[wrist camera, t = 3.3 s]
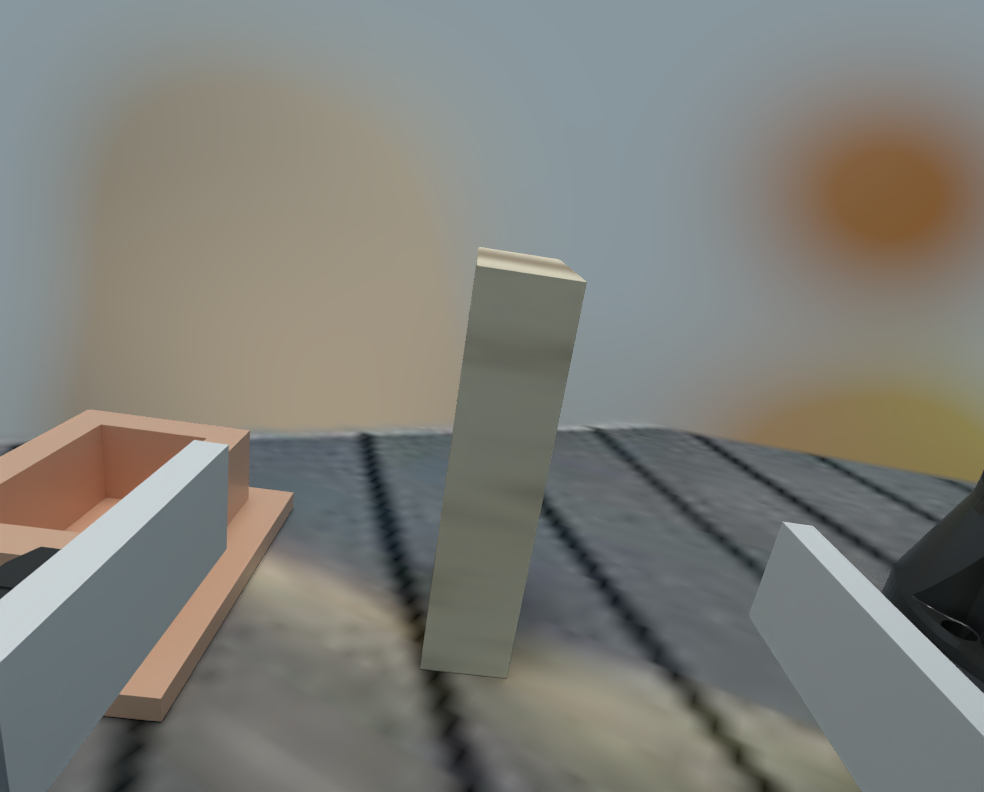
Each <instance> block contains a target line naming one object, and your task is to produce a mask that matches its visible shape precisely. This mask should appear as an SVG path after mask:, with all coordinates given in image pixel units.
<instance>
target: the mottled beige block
mask: <svg viewBox="0 0 984 792" xmlns="http://www.w3.org/2000/svg"><path fill="white" fill-rule="evenodd" d="M586 284H587V282H586V281H585V280H583V279H582V278H581V277H580V276H579V275H577V274H576V273H575V272H574V271H573V270H571V269H570V268H569V267H568V266H567V265H565V264H564V263H563V262H562V261H560V260H559V259H552V258H546V257H540V256H533V255H527V254H520V253H514V252H507V251H501V250H494V249H488V248H482V247H479V248H478V256H477V262H476V270H475V277H474V284H473V291H472V298H471V306H470V312H469V320H468V327H467V334H466V341H465V348H464V356H463V363H462V370H461V377H460V384H459V391H458V399H457V405H456V413H455V420H454V427H453V434H452V441H451V448H450V455H449V463H448V470H447V477H446V484H445V491H444V498H443V505H442V513H441V520H440V527H439V534H438V541H437V548H436V556H435V563H434V570H433V577H432V585H431V592H430V600H429V607H428V614H427V622H426V629H425V636H424V644H423V651H422V659H421V666H420V669H425V670H435V671H444V672H453V673H462V674H471V675H480V676H490V677H499V678H507V674H508V669H509V664H510V659H511V654H512V649H513V644H514V639H515V634H516V629H517V624H518V619H519V614H520V610H521V605H522V600H523V595H524V590H525V585H526V580H527V575H528V570H529V565H530V560H531V555H532V550H533V545H534V540H535V535H536V530H537V526H538V521H539V516H540V511H541V506H542V501H543V496H544V491H545V486H546V481H547V476H548V471H549V466H550V461H551V456H552V451H553V447H554V442H555V437H556V432H557V427H558V422H559V417H560V412H561V407H562V402H563V397H564V392H565V387H566V382H567V377H568V372H569V367H570V362H571V358H572V353H573V347H574V342H575V338H576V333H577V328H578V323H579V318H580V313H581V308H582V303H583V298H584V293H585V288H586Z"/></svg>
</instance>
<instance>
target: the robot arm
mask: <svg viewBox="0 0 984 792" xmlns="http://www.w3.org/2000/svg"><path fill="white" fill-rule="evenodd" d="M228 457H229V445H227V444H220V443H213V442H206V441H199V440H193V441H192V442H191V443H190V444H189V445H187V446H186V447H185V448H184V449H183V450H181V451H180V452H179V453H178V454H176V455H175V456H174V457H173V458H172V459H170V460H169V461H168V462H167V463H165V464H164V465H163V466H162V467H161V468H159V469H158V470H157V471H156V472H155V473H153V474H152V475H151V476H150V477H148V478H147V479H146V480H145V481H144V482H142V483H141V484H140V485H139V486H138V487H136V488H135V489H134V490H133V491H131V492H130V493H129V494H128V495H127V496H125V497H124V498H123V499H122V500H120V501H119V502H118V503H117V504H116V505H114V506H113V507H112V508H111V509H110V510H108V511H107V512H106V513H105V514H103V515H102V516H101V517H100V518H99V519H97V520H96V521H95V522H94V523H92V524H91V525H90V526H89V527H88V528H86V529H85V530H84V531H83V532H82V533H80V534H79V535H78V536H77V537H75V538H74V539H73V540H72V541H71V542H69V543H68V544H67V545H66V546H65V547H63V548H62V549H57V548H49V547H39V548H36V549H34V550H32V551H30V552H28V553H25V554H23V555H21V556H19V557H16V558H14V559H12V560H10V561H8V562H5V563H4V564H3V565H1V566H0V792H47V791H48V790H49V788H50V787H51V785H52V784H53V783H54V781H55V780H56V779H57V777H58V776H59V775H60V773H61V772H62V771H63V769H64V768H65V767H66V765H67V764H68V763H69V761H70V760H71V758H72V757H73V756H74V754H75V753H76V752H77V750H78V749H79V748H80V746H81V745H82V744H83V742H84V741H85V740H86V738H87V737H88V736H89V734H90V733H91V731H92V730H93V729H94V727H95V726H96V725H97V723H98V722H99V721H100V719H101V718H102V717H103V715H104V714H105V713H106V711H107V710H108V708H109V707H110V706H111V704H112V703H113V702H114V700H115V699H116V698H117V696H118V695H119V694H120V692H121V691H122V690H123V688H124V687H125V686H126V684H127V683H128V681H129V680H130V679H131V677H132V676H133V675H134V673H135V672H136V671H137V669H138V668H139V667H140V665H141V664H142V663H143V661H144V660H145V659H146V657H147V656H148V654H149V653H150V652H151V650H152V649H153V648H154V646H155V645H156V644H157V642H158V641H159V640H160V638H161V637H162V636H163V634H164V633H165V632H166V630H167V629H168V627H169V626H170V625H171V623H172V622H173V621H174V619H175V618H176V617H177V615H178V614H179V613H180V611H181V610H182V609H183V607H184V606H185V604H186V603H187V602H188V600H189V599H190V598H191V596H192V595H193V594H194V592H195V591H196V590H197V588H198V587H199V586H200V584H201V583H202V582H203V580H204V579H205V577H206V576H207V575H208V573H209V572H210V571H211V569H212V568H213V567H214V565H215V564H216V563H217V561H218V560H219V559H220V557H221V556H222V555H223V553H224V552H225V550H226V549H227V508H228ZM749 617H750V618H751V620H752V622H753V623H754V625H755V626H756V628H757V629H758V631H759V633H760V634H761V636H762V637H763V639H764V640H765V642H766V643H767V645H768V647H769V648H770V650H771V651H772V653H773V654H774V656H775V657H776V659H777V661H778V662H779V664H780V665H781V667H782V668H783V670H784V671H785V673H786V675H787V676H788V678H789V679H790V681H791V682H792V684H793V685H794V687H795V689H796V690H797V692H798V693H799V695H800V696H801V698H802V699H803V701H804V703H805V704H806V706H807V707H808V709H809V710H810V712H811V713H812V715H813V717H814V718H815V720H816V721H817V723H818V724H819V726H820V727H821V729H822V731H823V732H824V734H825V735H826V737H827V738H828V740H829V742H830V743H831V745H832V746H833V748H834V749H835V751H836V752H837V754H838V756H839V757H840V759H841V760H842V762H843V763H844V765H845V766H846V768H847V770H848V771H849V773H850V774H851V776H852V777H853V779H854V780H855V782H856V784H857V785H858V787H859V788H860V790H861V791H862V792H984V471H983V473H982V475H981V477H980V479H979V481H978V483H977V485H976V487H975V488H974V489H973V491H972V492H971V493H970V494H969V495H968V496H967V497H966V498H965V499H964V500H963V501H962V502H961V503H960V504H958V505H957V506H956V507H955V508H954V509H953V510H952V511H951V512H950V513H949V514H948V515H947V516H945V517H944V518H943V519H942V520H941V521H940V522H939V523H938V524H937V525H936V526H935V527H934V528H933V529H931V530H930V531H929V532H928V533H927V534H926V535H925V536H924V537H923V538H922V539H921V540H920V541H919V542H917V543H916V544H915V545H914V546H913V547H912V548H911V549H910V550H909V551H908V552H907V553H906V554H904V555H903V556H902V557H901V558H900V559H899V560H898V562H897V563H896V564H895V566H894V567H893V569H892V570H891V573H890V575H889V577H888V579H887V582H886V584H885V586H884V588H883V591H882V593H881V592H880V591H879V590H878V589H877V588H876V587H875V586H874V585H873V584H872V583H870V582H869V581H868V580H867V579H866V578H865V577H864V576H863V575H862V574H861V573H860V572H859V571H858V570H857V569H856V568H855V567H854V566H853V565H852V564H851V563H850V562H849V561H848V560H847V559H846V558H845V557H844V556H843V555H842V554H841V553H840V552H839V551H838V550H837V549H836V548H835V547H834V546H833V545H832V544H831V543H830V542H829V541H828V540H827V539H826V538H825V537H824V536H823V535H822V534H821V533H820V532H819V531H818V530H816V529H815V528H814V527H813V526H809V525H802V524H795V523H788V522H782V525H781V528H780V531H779V533H778V536H777V539H776V542H775V544H774V547H773V550H772V553H771V555H770V558H769V561H768V564H767V566H766V569H765V572H764V575H763V577H762V580H761V583H760V586H759V588H758V591H757V594H756V597H755V599H754V602H753V605H752V608H751V610H750V613H749Z"/></svg>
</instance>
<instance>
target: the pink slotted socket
mask: <svg viewBox="0 0 984 792" xmlns="http://www.w3.org/2000/svg"><path fill="white" fill-rule="evenodd" d="M193 440H199V441H206V442H213V443H220V444H227V445H229V457H228V508H227V549H226V550H225V552H224V553H223V555H222V556H221V557H220V559H219V560H218V561H217V563H216V564H215V565H214V567H213V568H212V569H211V571H210V572H209V573H208V575H207V576H206V577H205V579H204V580H203V582H202V583H201V584H200V586H199V587H198V588H197V590H196V591H195V592H194V594H193V595H192V596H191V598H190V599H189V600H188V602H187V603H186V604H185V606H184V607H183V609H182V610H181V611H180V613H179V614H178V615H177V617H176V618H175V619H174V621H173V622H172V623H171V625H170V626H169V627H168V629H167V630H166V632H165V633H164V634H163V636H162V637H161V638H160V640H159V641H158V642H157V644H156V645H155V646H154V648H153V649H152V650H151V652H150V653H149V654H148V656H147V657H146V659H145V660H144V661H143V663H142V664H141V665H140V667H139V668H138V669H137V671H136V672H135V673H134V675H133V676H132V677H131V679H130V680H129V681H128V683H127V684H126V686H125V687H124V688H123V690H122V691H121V692H120V694H119V695H118V696H117V698H116V699H115V700H114V702H113V703H112V704H111V706H110V707H109V708H108V710H107V711H106V713H105V714H104V715H103V716H110V717H120V718H130V719H140V720H150V721H160V722H162V720H163V719H164V717H165V716H166V714H167V712H168V711H169V709H170V707H171V706H172V704H173V703H174V701H175V699H176V698H177V696H178V694H179V693H180V691H181V690H182V688H183V686H184V685H185V683H186V681H187V680H188V678H189V677H190V675H191V673H192V672H193V670H194V668H195V667H196V665H197V664H198V662H199V660H200V659H201V657H202V655H203V654H204V652H205V650H206V649H207V647H208V646H209V644H210V642H211V641H212V639H213V637H214V636H215V634H216V633H217V631H218V629H219V628H220V626H221V624H222V623H223V621H224V620H225V618H226V616H227V615H228V613H229V611H230V610H231V608H232V607H233V605H234V603H235V602H236V600H237V598H238V597H239V595H240V594H241V592H242V590H243V589H244V587H245V585H246V584H247V582H248V581H249V579H250V577H251V576H252V574H253V572H254V571H255V569H256V567H257V566H258V564H259V563H260V561H261V559H262V558H263V556H264V554H265V553H266V551H267V550H268V548H269V546H270V545H271V543H272V541H273V540H274V538H275V537H276V535H277V533H278V532H279V530H280V528H281V527H282V525H283V524H284V522H285V520H286V519H287V517H288V515H289V514H290V512H291V511H292V509H293V495H294V493H293V492H285V491H277V490H269V489H261V488H253V487H249V445H250V431H249V430H242V429H234V428H227V427H219V426H211V425H204V424H196V423H189V422H181V421H174V420H165V419H158V418H150V417H142V416H135V415H128V414H120V413H113V412H106V411H98V410H90V409H89V410H87V411H85V412H83V413H81V414H79V415H77V416H75V417H73V418H72V419H70V420H68V421H66V422H64V423H62V424H61V425H59V426H57V427H55V428H53V429H51V430H49V431H47V432H46V433H44V434H42V435H40V436H38V437H36V438H34V439H32V440H31V441H29V442H27V443H25V444H23V445H21V446H19V447H18V448H16V449H14V450H12V451H10V452H8V453H6V454H5V455H3V456H1V457H0V566H1V565H3V564H4V563H5V562H8V561H10V560H12V559H14V558H16V557H19V556H21V555H23V554H25V553H28V552H30V551H32V550H34V549H36V548H39V547H49V548H57V549H62V548H63V547H65V546H66V545H67V544H68V543H69V542H71V541H72V540H73V539H74V538H75V537H77V536H78V535H79V534H80V533H82V532H83V531H84V530H85V529H86V528H88V527H89V526H90V525H91V524H92V523H94V522H95V521H96V520H97V519H99V518H100V517H101V516H102V515H103V514H105V513H106V512H107V511H108V510H110V509H111V508H112V507H113V506H114V505H116V504H117V503H118V502H119V501H120V500H122V499H123V498H124V497H125V496H127V495H128V494H129V493H130V492H131V491H133V490H134V489H135V488H136V487H138V486H139V485H140V484H141V483H142V482H144V481H145V480H146V479H147V478H148V477H150V476H151V475H152V474H153V473H155V472H156V471H157V470H158V469H159V468H161V467H162V466H163V465H164V464H165V463H167V462H168V461H169V460H170V459H172V458H173V457H174V456H175V455H176V454H178V453H179V452H180V451H181V450H183V449H184V448H185V447H186V446H187V445H189V444H190V443H191V442H192V441H193Z"/></svg>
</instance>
